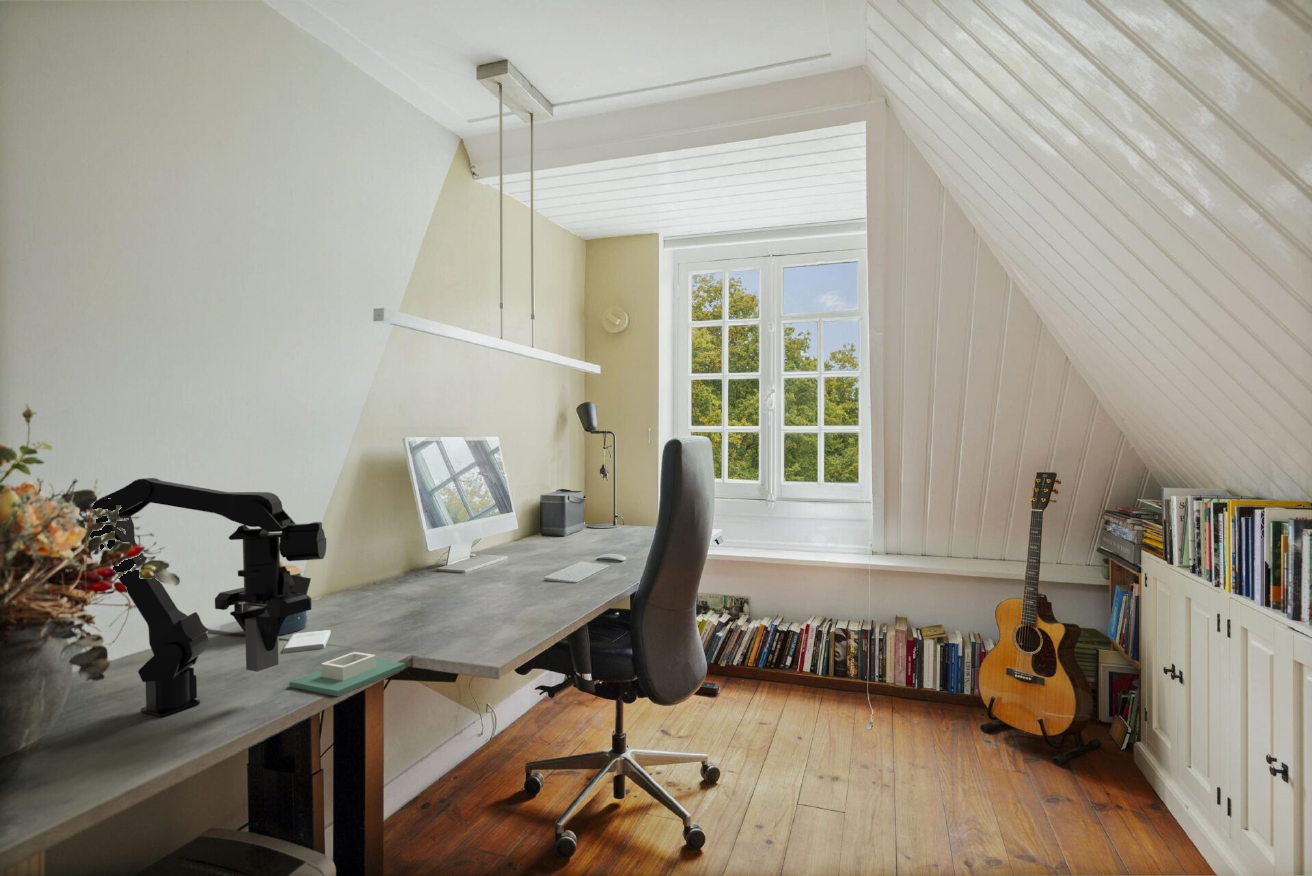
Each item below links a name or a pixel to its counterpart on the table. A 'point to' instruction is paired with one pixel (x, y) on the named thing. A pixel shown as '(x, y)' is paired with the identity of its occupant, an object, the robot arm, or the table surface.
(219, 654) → the table surface
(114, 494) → the robot arm
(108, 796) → the table surface
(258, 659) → the plug
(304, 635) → the external hard drive
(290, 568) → the canister
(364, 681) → the board
